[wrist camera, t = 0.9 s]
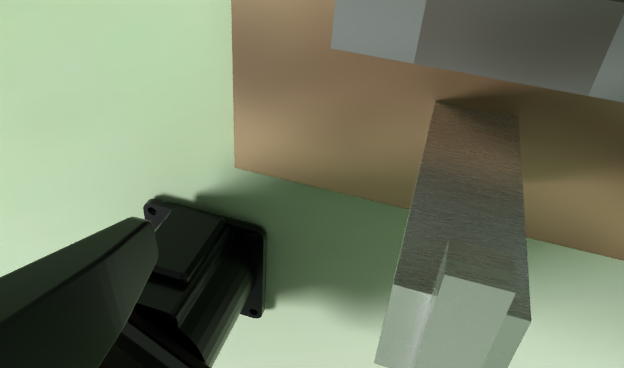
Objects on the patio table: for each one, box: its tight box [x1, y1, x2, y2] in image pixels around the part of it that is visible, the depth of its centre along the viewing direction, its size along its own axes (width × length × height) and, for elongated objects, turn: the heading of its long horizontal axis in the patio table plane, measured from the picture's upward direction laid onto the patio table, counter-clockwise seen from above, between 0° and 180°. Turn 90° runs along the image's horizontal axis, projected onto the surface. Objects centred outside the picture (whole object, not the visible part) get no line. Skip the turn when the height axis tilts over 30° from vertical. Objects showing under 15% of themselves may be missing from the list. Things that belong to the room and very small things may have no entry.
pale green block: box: [374, 101, 531, 368], centre depth 14 cm, size 6×3×10 cm, turn 175°
